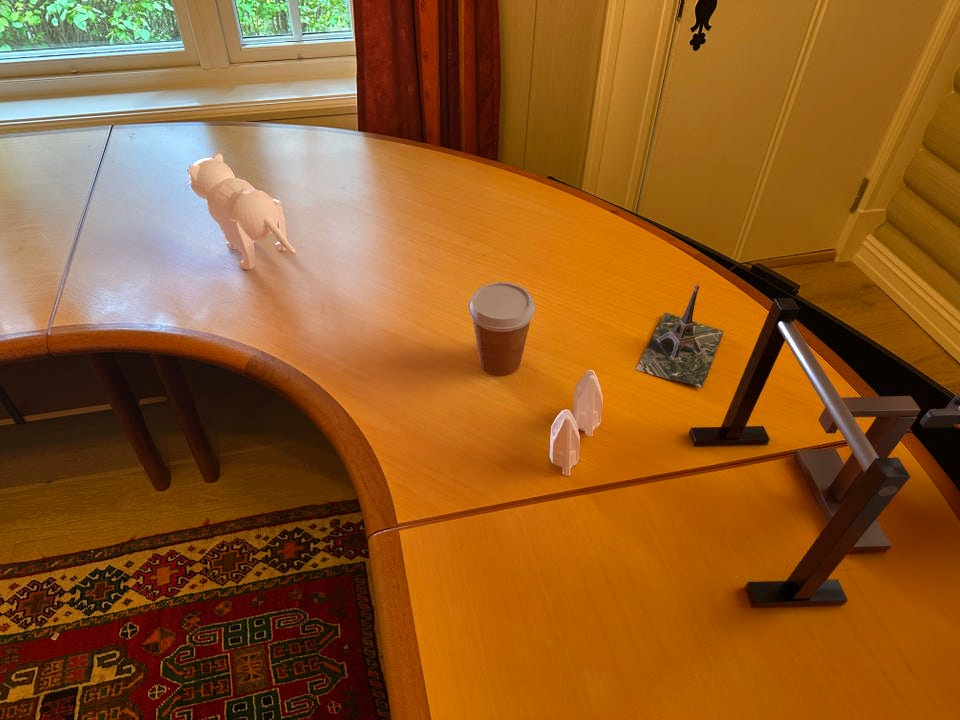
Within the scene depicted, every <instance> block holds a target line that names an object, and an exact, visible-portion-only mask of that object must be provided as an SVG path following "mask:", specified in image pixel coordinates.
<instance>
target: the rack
mask: <svg viewBox="0 0 960 720" xmlns="http://www.w3.org/2000/svg"><path fill="white" fill-rule="evenodd" d="M799 312H800V308H799V306H798V305H797V303H796V301H795V300H794V298H793V297H786V298H785V297H781V298H779V297H778V298H776V297H775V298H774V299H773V302H772V304H771V307H770V308H769V310H768V314H767V315H766V318H765V320H764V323H763V325H762V328H761V329H760V330H761V331H760V332H759V334H758V337H757V340H756V342H755V344H754V347H753V349H752V351H751V354H750V357H749V359H748V361H747V364H746V366H745V368H744V371H743V373H742V375H741V378H740V380H739V382H738V385H737V388H736V390H735V392H734V394H733V397H732V399H731V402H730V404H729V407H728V409H727V411H726V414H725V417H724V418H723V421H722V423H721V426H698V427H697V426H695V427H690V429H689V432H688V435H689V438H690V440H691V443H692V446H693V447H694V448H697V447H735V446H736V447H739V446H740V447H741V446H768V444H769V442H770V441H771V439H770V437H769V435H768V432H767V430H766V428H765V426H764V425H747V424H748V422H749V420H750V419H751V415H752V413H753V411H754V409H755V406H756V405H757V403H758V401H759V399H760V397H761V394H762V392H763V390H764V387H765V385H766V383H767V381H768V379H769V377H770V375H771V372H772V371H773V368H774V365H775V363H776V362H777V360H778V357H779V355H780V352H781V350H782V348H783V346H784V344H785V343H786V344H787V346H788V348H789V349H790V351H791V352H792V355H793V356H794V357H795V359H796V361H797V362H798V364H799V366H800V367H801V369H802V371H803V373H804V374H805V376H806V377H807V380H808V381H809V382H810V384H811V386H812V387H813V389H814V391H815V393H816V394H817V396H818V397H819V399H820V401H821V403H822V404H823V406H824V408H825V407H826V409H827V411H828V412H829V414H830V416H831V417H832V419H833V421H834V422H835V424H836V426H837V427H838V429H837V430H838V431H839V432H840V434H841V435H842V436H841V437H842V438H843V439H844V441H845V442H846V444H847V446H848V447H849V449H850V450H851V453H853V454H854V456H855V457H856V459H857V461H858V462H859V464H860V466H861V467H862V469H863V471H864V472H865V473H864V474H863V475H862V477H861V478H860V480H859V481H858V482H857V484H856V485H855V487H854V488H853V489H852V491H851V492H850V493H849V495H848V496H847V498H846V499H845V500H844V502H843V503H842V504H841V506H840V507H839V509H838V510H837V511H836V513H835V514H834V515H833V517H832V518H831V520H830V521H829V522H828V523H827V524H826V525H825V526H824V528H823V529H822V531H820V533H819V535H818V536H817V538H816V539H815V541H813V543H812V545H810V547H809V549H808V550H807V551H806V553H805V554H804V556H803V557H802V558H801V560H800V561H799V563H798V564H797V565H796V566H795V568H794V569H793V571H792V572H791V573H790V575H789V576H788V578H787V579H786V580H768V581H766V580H765V581H764V580H763V581H748V582H747V583H746V584H745V586H744V589H745V591H746V594H747V597H748V600H749V602H750V606H751V608H754V609H755V608H756V609H757V608H760V609H761V608H788V607H789V608H793V607H795V608H796V607H823V606H826V607H827V606H829V607H830V606H845V604H846V603H847V602H848V601H849V599H848V597H847V595H846V593H845V591H844V589H843V587H842V585H841V583H840V580H839V579H837V578H836V579H835V578H834V579H829V577H830V576H831V575H832V573H833V572H834V571H836V569H837V567H838V566H839V565H840V564H841V563H842V561H843V560H844V559H845V558H846V557H847V555H849V554H848V553H849V551H850V550H851V549H852V548H853V547H854V545H855V544H856V543H857V542H858V540H859V539H860V538H861V537H862V536H863V534H864V533H865V532H866V531H867V529H868V528H869V527H870V526H871V525H872V523H873V522H874V521H875V520H876V519H878V518H879V516H880V515H881V514H882V512H883V511H884V510H885V509H886V508H887V507H888V505H889V504H890V503H891V502H892V501H893V499H894V498H895V497H896V496H897V494H898V493H899V492H900V490H901V489H902V488H903V487H904V485H905V484H907V482H908V481H909V480H910V479H911V474H910V473H909V471H908V470H907V469H906V467H905V465H904V464H903V463H902V461H901V460H900V458H899V457H888V458H879V457H878V455H877V453H876V452H875V450H874V449H873V447H872V446H871V444H870V442H869V441H868V439H867V438H866V436H865V432H864V431H863V430H862V428H861V426H860V425H859V424H858V422H857V421H856V419H855V417H853V416H852V414H851V413H850V411H849V409H848V408H847V406H846V405H845V403H844V402H843V400H842V398H843V397H841V395H840V394H839V392H838V390H837V389H836V387H835V386H834V384H833V382H832V381H831V380H830V378H829V376H828V375H827V373H826V372H825V370H824V369H823V367H822V366H821V364H820V362H819V360H818V359H817V357H816V356H815V355H814V353H813V350H811V349H810V346H809V345H808V343H807V342H806V341H805V338H804V337H803V336H802V334H801V332H800V331H799V329H798V327H797V326H796V325H795V320H796V318H797V315H798V313H799Z"/></svg>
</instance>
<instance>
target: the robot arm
mask: <svg viewBox="0 0 960 720" xmlns="http://www.w3.org/2000/svg"><path fill="white" fill-rule="evenodd" d="M919 424H920V425H921V426H922V428H923V429H939V428H940V429H942V428H943V429H944V428H945V429H946V428H949V429H951V428H953V427H954V428H957V429H959V430H960V393H959V394H955V395H954V396H953V397H952V399H951V400H950V401H949V403H947V404H946V406H945V408H930V409H928V410H927V412H926V413H925V414H924V415H923V416H922V418H921V419H920V421H919Z"/></svg>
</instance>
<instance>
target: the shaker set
mask: <svg viewBox="0 0 960 720" xmlns="http://www.w3.org/2000/svg"><path fill="white" fill-rule="evenodd" d="M603 403H604V396H603V392H602V388H601V384H600V382H599V379H598V377H597V375H596V372H595V371H594V370H593V369H588V370H586V371H585V372H584V373H583V374H582V375H581V377H580V378H579V379H578V381H577V383H576V384H575V387H574V392H573V401H572V411H571V410H569V409H563V410H562V411H560V412H559V414H558V415H557V416H556V418H555V419H554V421H553V423H552V424H551V426H550V438H549V440H550V442H549V455H548V456H549V459H550V461H551V464H552V465H555V466H557V467H560V468H561V469H562V473H561V474H562V475H563V476H565V477H567V476H568V477H570V476H571V470H572V467H574V466H575V465H577V464H578V463H579V460H580V447H581V437H580V436H581V435H580V432H579V430H580V431H583V432H584V434H585V435H586V436H587V437H593V436H594V431H595V429H597V428H598V427H599V426H600V425H601V422H602V412H603V405H604V404H603Z"/></svg>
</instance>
